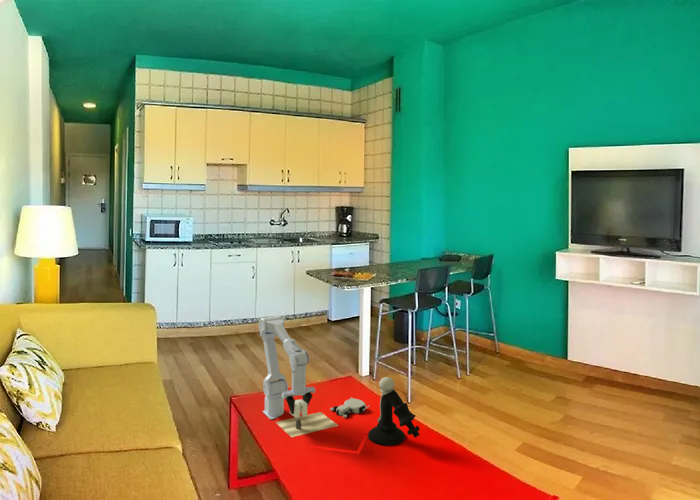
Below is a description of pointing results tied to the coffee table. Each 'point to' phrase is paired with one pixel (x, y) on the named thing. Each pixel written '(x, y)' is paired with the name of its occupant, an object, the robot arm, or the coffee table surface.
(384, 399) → the sculpture
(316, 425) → the board
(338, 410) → the robot toy
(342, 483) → the coffee table surface
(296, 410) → the slotted white block
